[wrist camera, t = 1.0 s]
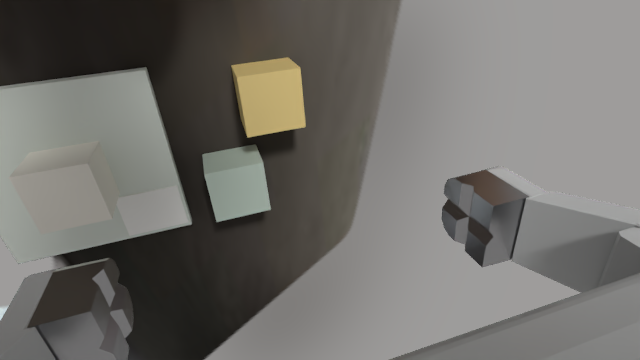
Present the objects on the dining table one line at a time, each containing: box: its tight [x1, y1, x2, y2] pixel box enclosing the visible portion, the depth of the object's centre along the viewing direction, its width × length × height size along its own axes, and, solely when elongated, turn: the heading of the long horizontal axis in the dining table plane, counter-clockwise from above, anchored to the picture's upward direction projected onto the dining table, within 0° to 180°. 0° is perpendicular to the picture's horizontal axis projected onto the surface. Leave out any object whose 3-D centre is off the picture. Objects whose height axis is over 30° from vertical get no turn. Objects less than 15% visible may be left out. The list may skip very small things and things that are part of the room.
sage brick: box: [202, 144, 271, 222], centre depth 42 cm, size 6×6×5 cm
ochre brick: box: [231, 58, 306, 137], centre depth 38 cm, size 6×6×5 cm
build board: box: [0, 67, 192, 264], centre depth 36 cm, size 18×18×6 cm
